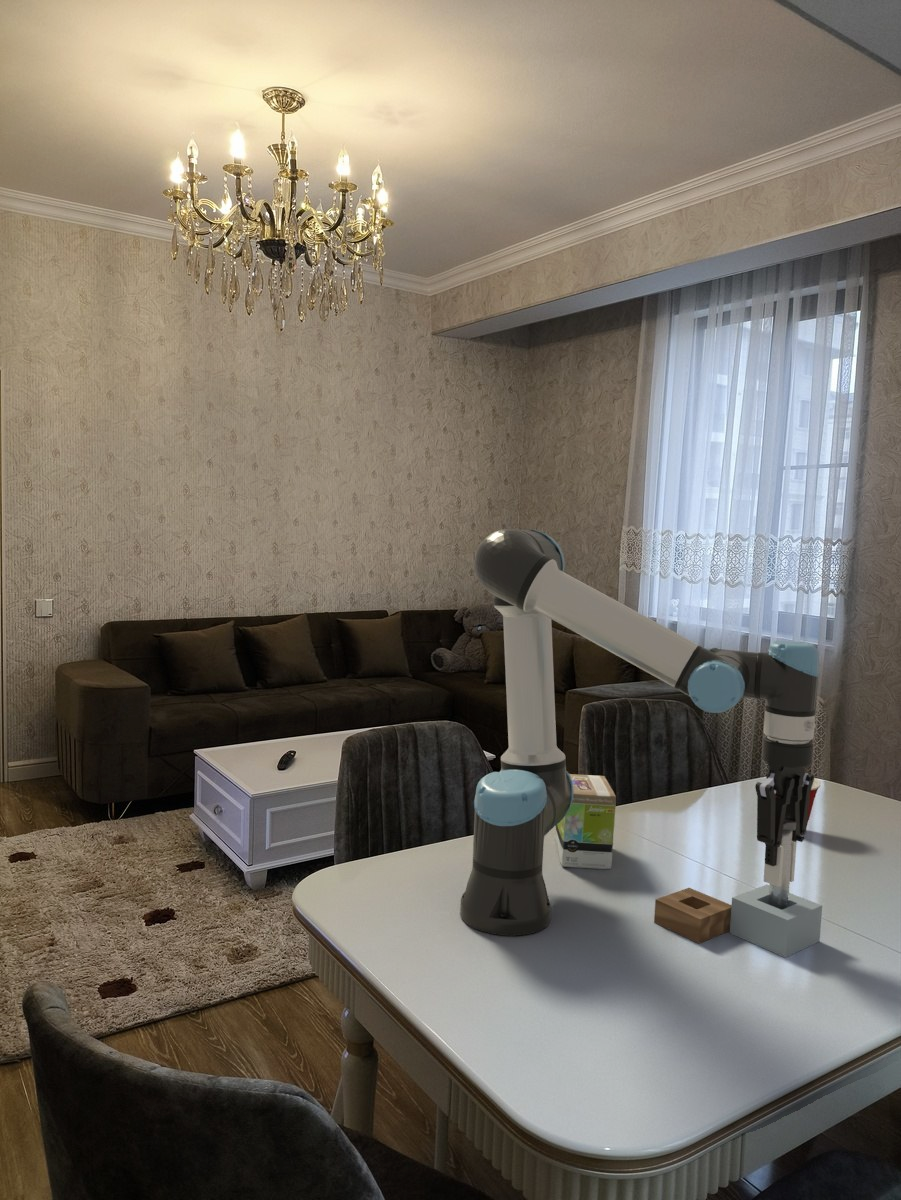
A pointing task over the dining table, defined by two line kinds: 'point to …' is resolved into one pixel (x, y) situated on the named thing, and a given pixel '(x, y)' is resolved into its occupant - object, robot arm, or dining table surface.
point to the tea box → (587, 824)
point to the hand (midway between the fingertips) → (778, 880)
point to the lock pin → (783, 869)
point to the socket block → (775, 922)
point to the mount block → (693, 914)
